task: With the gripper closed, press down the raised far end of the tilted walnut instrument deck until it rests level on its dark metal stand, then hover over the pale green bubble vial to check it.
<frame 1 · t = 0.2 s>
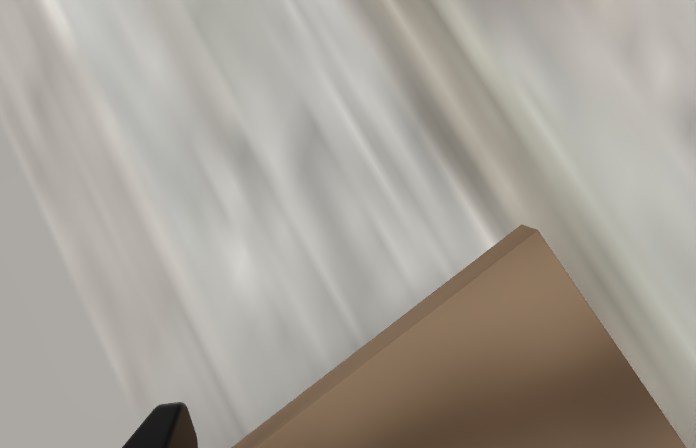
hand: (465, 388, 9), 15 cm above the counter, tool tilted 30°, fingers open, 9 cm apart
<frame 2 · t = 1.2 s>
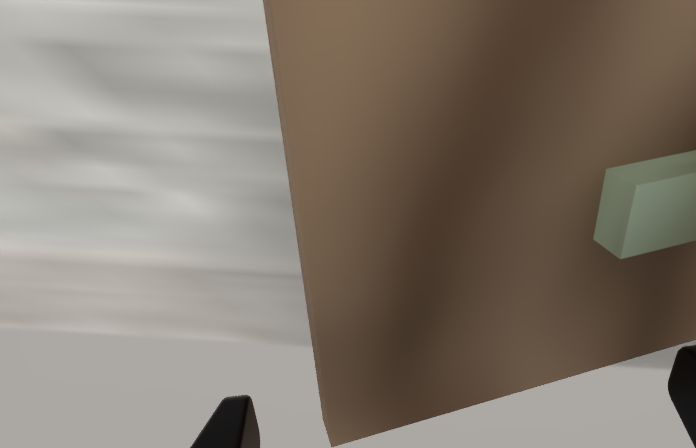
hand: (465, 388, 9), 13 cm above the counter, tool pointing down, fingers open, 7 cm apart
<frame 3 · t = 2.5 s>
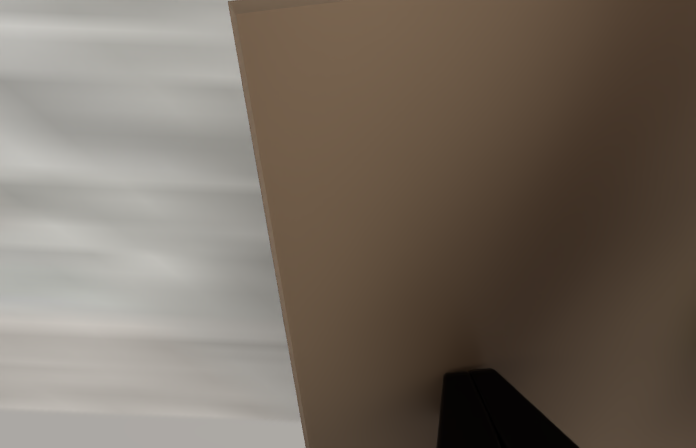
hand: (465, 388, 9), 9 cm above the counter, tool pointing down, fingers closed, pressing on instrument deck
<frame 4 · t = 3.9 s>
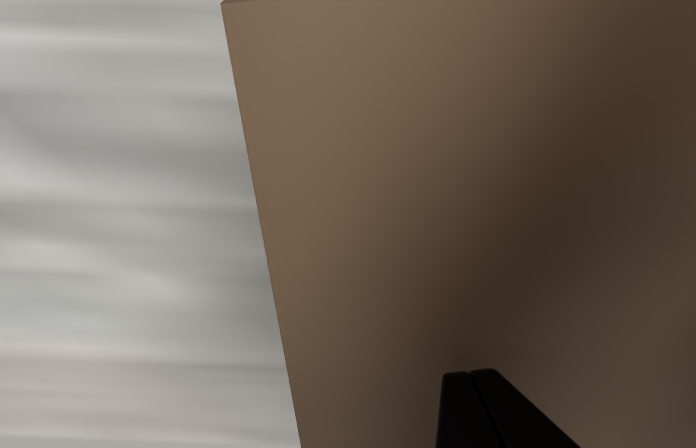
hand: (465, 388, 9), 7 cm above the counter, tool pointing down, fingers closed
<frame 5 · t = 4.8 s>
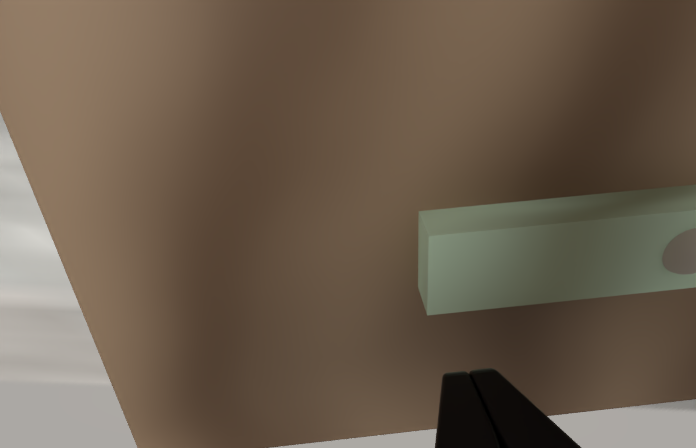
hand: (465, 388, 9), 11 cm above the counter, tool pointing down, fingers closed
instrument deck: (578, 240, 12), point 7 cm above the counter, hinge at 0.2°
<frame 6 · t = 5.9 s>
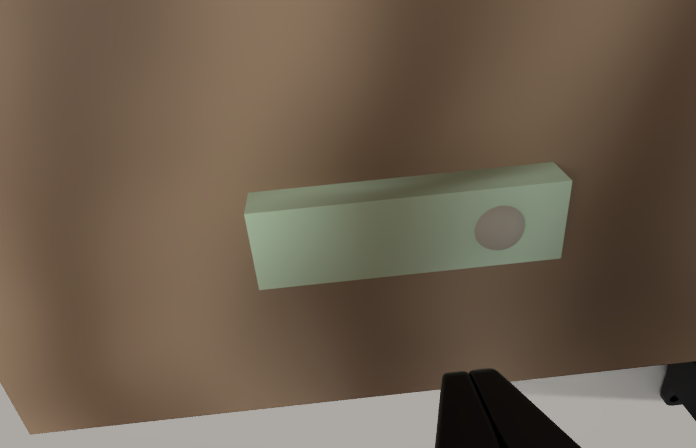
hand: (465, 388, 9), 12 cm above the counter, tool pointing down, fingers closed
instrument deck: (404, 219, 13), point 7 cm above the counter, hinge at 0.2°
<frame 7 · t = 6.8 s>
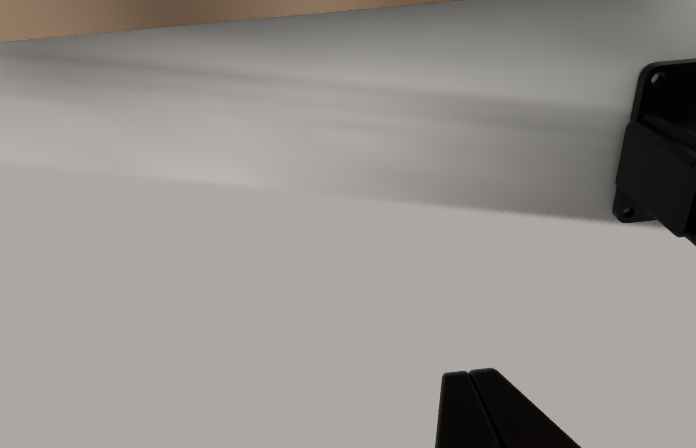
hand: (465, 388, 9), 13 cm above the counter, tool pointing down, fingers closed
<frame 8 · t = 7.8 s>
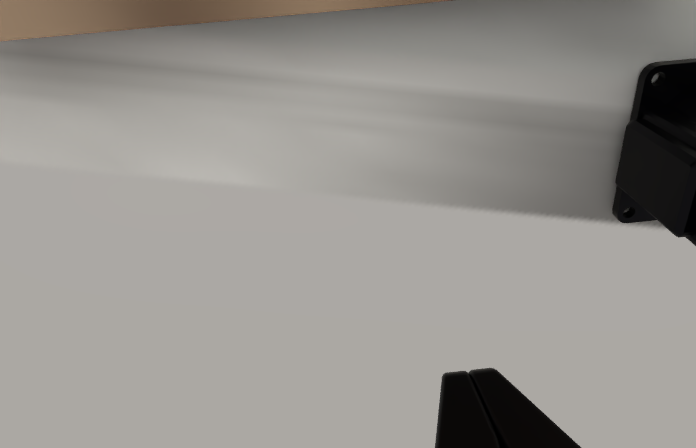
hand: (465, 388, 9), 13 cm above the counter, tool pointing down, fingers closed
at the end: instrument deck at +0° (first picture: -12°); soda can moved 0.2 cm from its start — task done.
